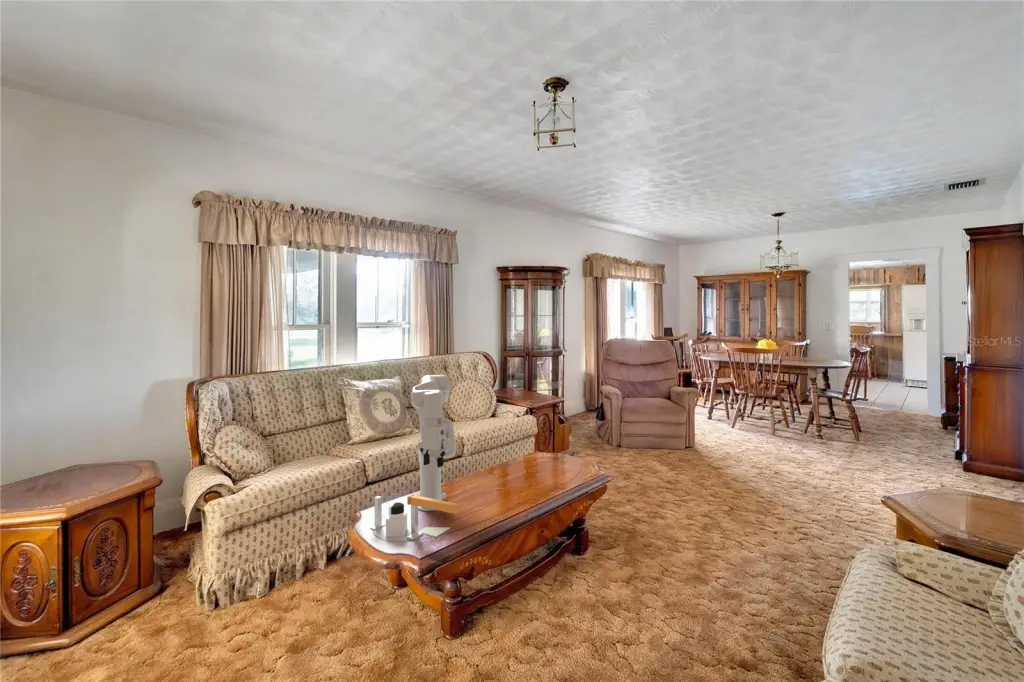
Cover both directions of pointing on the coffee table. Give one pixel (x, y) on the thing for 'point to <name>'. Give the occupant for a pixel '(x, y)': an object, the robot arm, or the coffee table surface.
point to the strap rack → (379, 524)
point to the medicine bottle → (396, 520)
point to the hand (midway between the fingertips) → (433, 465)
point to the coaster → (433, 531)
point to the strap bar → (433, 504)
